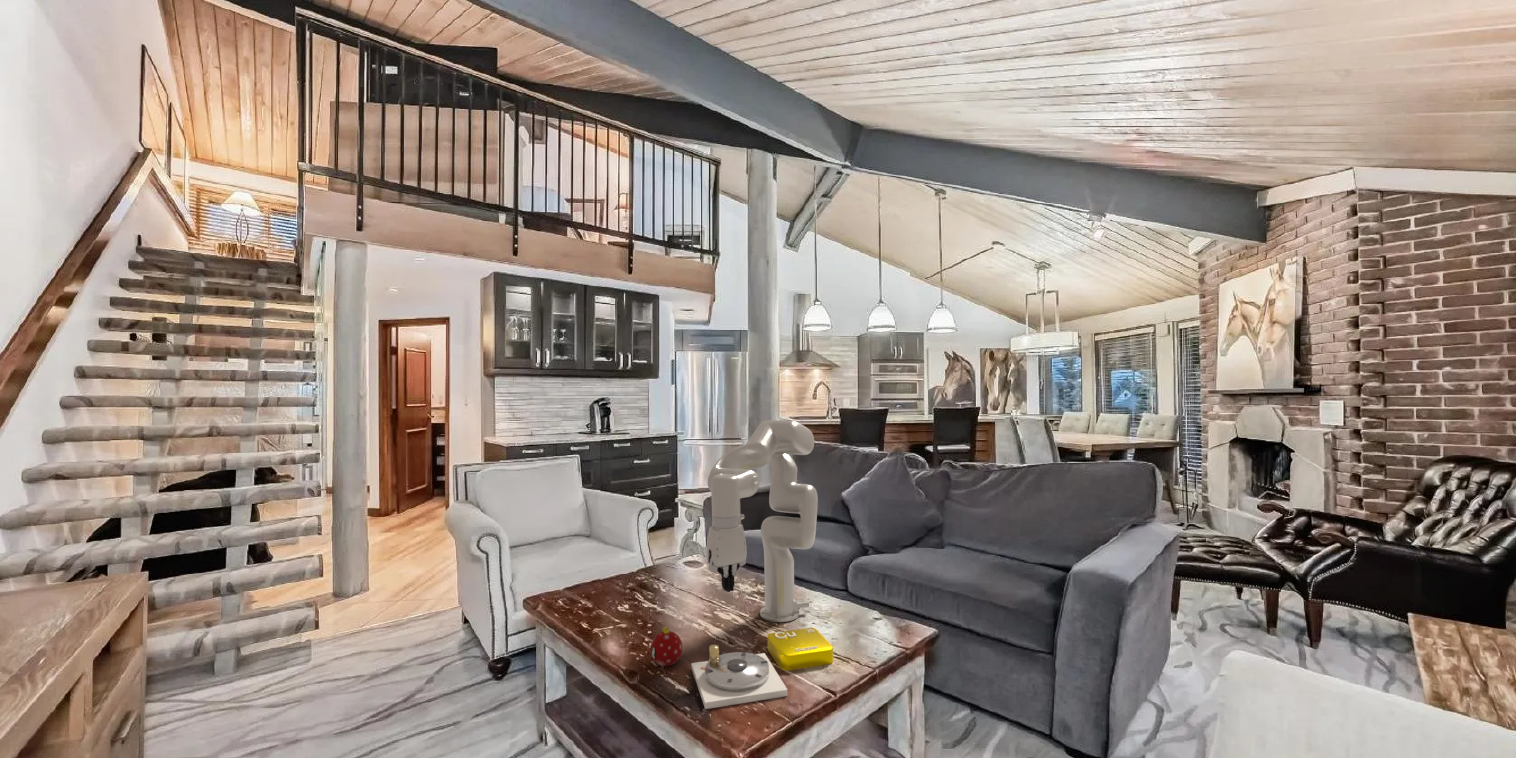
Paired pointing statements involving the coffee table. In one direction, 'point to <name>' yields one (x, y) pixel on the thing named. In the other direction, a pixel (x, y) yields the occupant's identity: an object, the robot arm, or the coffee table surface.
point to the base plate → (724, 698)
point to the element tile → (800, 649)
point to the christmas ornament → (666, 648)
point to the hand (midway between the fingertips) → (728, 589)
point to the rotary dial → (735, 670)
